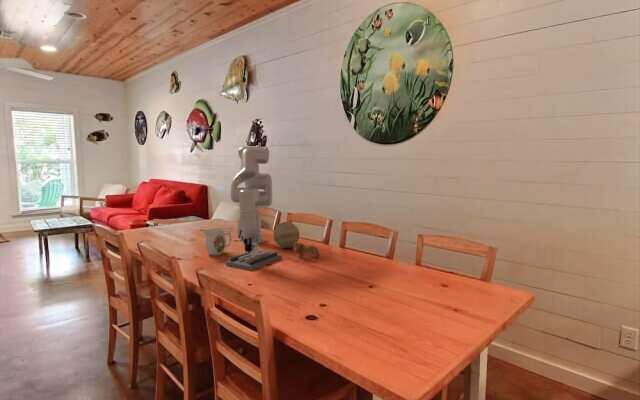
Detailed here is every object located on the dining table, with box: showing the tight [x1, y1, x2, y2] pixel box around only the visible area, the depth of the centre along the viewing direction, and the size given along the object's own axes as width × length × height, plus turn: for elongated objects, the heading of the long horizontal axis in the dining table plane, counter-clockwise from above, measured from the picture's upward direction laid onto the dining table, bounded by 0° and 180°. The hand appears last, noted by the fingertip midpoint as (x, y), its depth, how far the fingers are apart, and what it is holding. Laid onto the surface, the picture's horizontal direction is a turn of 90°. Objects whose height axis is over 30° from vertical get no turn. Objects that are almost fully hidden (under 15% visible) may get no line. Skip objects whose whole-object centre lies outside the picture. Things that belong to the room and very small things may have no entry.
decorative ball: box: [273, 221, 300, 249], centre depth 221 cm, size 15×15×15 cm
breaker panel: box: [225, 249, 283, 271], centre depth 193 cm, size 24×16×4 cm, turn 149°
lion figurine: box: [292, 241, 321, 260], centre depth 200 cm, size 15×5×9 cm, turn 108°
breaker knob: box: [250, 243, 260, 257], centre depth 193 cm, size 3×3×7 cm
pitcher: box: [201, 227, 233, 256], centre depth 208 cm, size 11×18×14 cm, turn 136°
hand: (248, 251), depth 189 cm, fingers closed
